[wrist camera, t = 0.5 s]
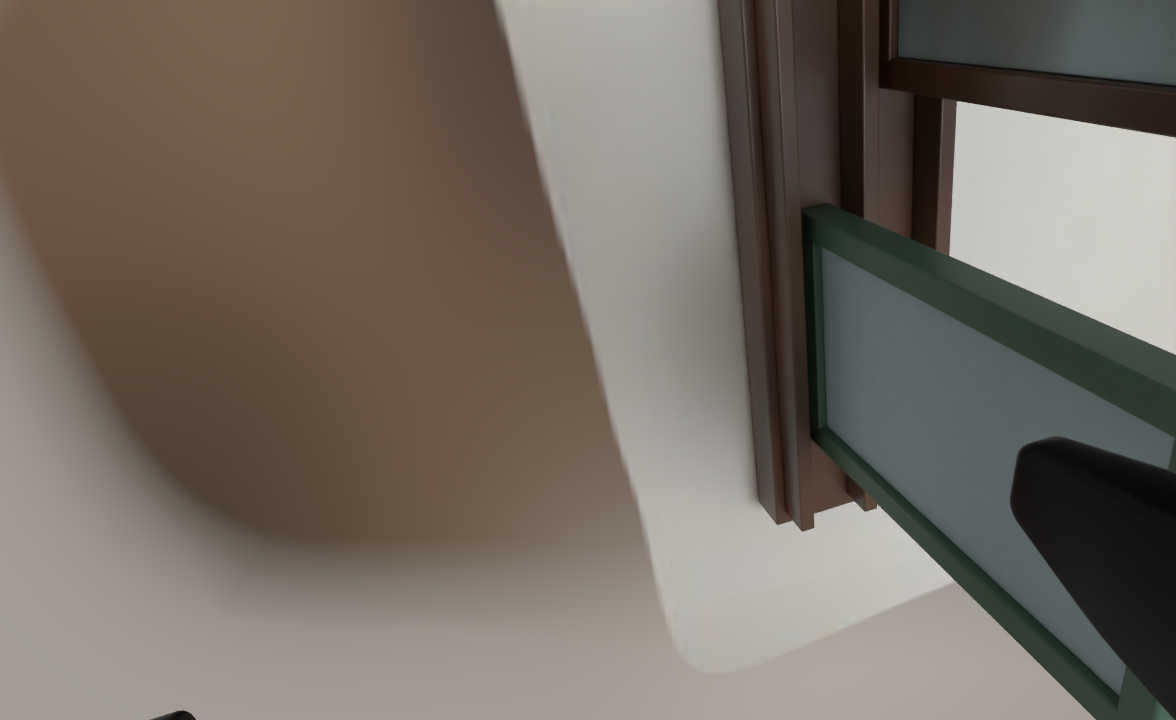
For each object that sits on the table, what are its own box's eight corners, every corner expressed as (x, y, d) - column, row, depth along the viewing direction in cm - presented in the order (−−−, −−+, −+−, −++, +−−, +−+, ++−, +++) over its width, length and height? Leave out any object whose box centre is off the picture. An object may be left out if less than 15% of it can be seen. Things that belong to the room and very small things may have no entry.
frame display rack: (900, 458, 30) (1347, 840, 16) (758, 502, 29) (1104, 946, 15) (919, -387, 19) (2401, -1430, 5) (688, -358, 18) (1735, -1534, 4)
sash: (834, 428, 27) (1186, 751, 15) (807, 436, 26) (1143, 768, 15) (828, 202, 23) (1286, 401, 12) (797, 210, 23) (1230, 420, 11)
